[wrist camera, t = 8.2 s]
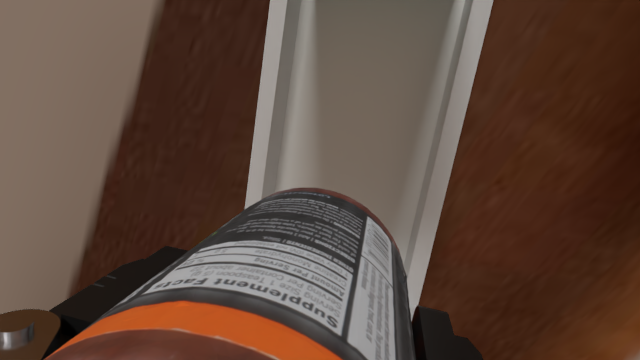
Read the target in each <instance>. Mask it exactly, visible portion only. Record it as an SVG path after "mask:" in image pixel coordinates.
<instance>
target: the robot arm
mask: <svg viewBox="0 0 640 360" xmlns="http://www.w3.org/2000/svg"><path fill="white" fill-rule="evenodd" d="M186 252H188V251H187V250H183V249H178V248H174V247H170V246H165V247H163V248H162V249H160V250H159V251H157V252H155V253H154V254H152V255H151V256H149V257H148V258H146V259H140V260H137V261H134V262H131V263H128V264H124V265H122V266H120V267H119V268H117V269H115V270H114V271H112V272H111V273H109V274H107V277H105V276H104V277H102V278H101V279H99V280H98V281H96V282H95V283H94V285H90V286H88V287H86V288H85V289H83V290H81V291H80V292H78V293H77V294H75V295H73V296H72V297H70V298H69V299H67V300H65V301H64V302H62V303H61V304H59V305H57V306H56V307H54V308H52V309H51V310H49V311H46V310H40V309H23V310H16V311H11V312H7V313H3V314H0V360H44V359H46V358H47V357H48V356H50V355H51V354H52V353H54V352H55V351H56V350H58V349H59V348H60V347H62V346H63V345H64V344H66V343H67V342H68V341H70V340H71V339H72V338H74V337H75V336H77V335H78V334H79V333H81V332H82V331H83V330H84V329H86V328H87V327H88V326H90V325H91V324H92V323H93V322H95V321H96V320H97V319H98V318H100V317H101V316H102V315H104V314H105V313H106V312H108V311H109V310H110V309H112V308H113V307H114V306H116V305H117V304H118V303H120V302H121V301H122V300H124V299H125V298H126V297H128V296H129V295H130V294H132V293H133V292H134V291H136V290H137V289H138V288H140V287H141V286H142V285H144V284H145V283H146V282H148V281H149V280H150V279H152V278H153V277H154V276H156V275H157V274H158V273H160V272H161V271H163V270H164V269H165V268H167V267H168V266H169V265H171V264H172V263H173V262H175V261H176V260H177V259H178V258H180V257H181V256H183V255H184V254H185V253H186ZM412 332H413V339H414V347H415V354H416V360H483V358H482V355H481V354H480V352H479V351H478V350H477V349H476V348H475V347H474V345H473V344H472V343H471V342H470V341H469V340H468V339H467V338H464V337H460V336H456V335H454V333H453V329H452V326H451V322H450V319H449V315H448V313H447V312H443V311H439V310H435V309H431V308H426V307H422V306H418V305H417V306H416V308H415V311H414V314H413V318H412Z"/></svg>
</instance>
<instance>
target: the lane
mask: <svg viewBox="0 0 640 360" xmlns="http://www.w3.org/2000/svg"><path fill="white" fill-rule="evenodd" d="M492 4H493V0H270V7H269V15H268V23H267V31H266V39H265V48H264V56H263V64H262V72H261V80H260V88H259V97H258V105H257V113H256V121H255V129H254V138H253V146H252V154H251V162H250V170H249V178H248V187H247V195H246V203H245V209H246V208H248V207H249V206H251V205H253V204H255V203H256V202H258V201H260V200H261V199H263V198H265V197H267V196H269V195H271V194H273V193H276V192H278V191H283V190H287V189H292V188H321V189H326V190H331V191H335V192H337V193H341V194H343V195H346V196H348V197H350V198H352V199H354V200H356V201H357V202H359V203H361V204H362V205H364V206H365V207H366V208H368V209H369V210H370V211H371V212H372V213H373V214H374V215H375V216H377V217H378V218H379V219H380V221H381V222H382V223H383V224H384V226H385V227H386V228H387V229H388V231H389V232H390V234H391V235H392V237H393V238H394V241H395V243H396V245H397V247H398V248H399V251H400V254H401V258H402V261H403V266H404V270H405V272H406V276H407V287H408V297H409V307H410V313H411V321H412V318H413V314H414V311H415V308H416V306H417V305H418V303H419V299H420V295H421V291H422V287H423V283H424V279H425V275H426V271H427V267H428V263H429V259H430V255H431V251H432V247H433V243H434V239H435V234H436V230H437V226H438V222H439V218H440V214H441V210H442V206H443V202H444V198H445V194H446V190H447V186H448V182H449V178H450V174H451V170H452V166H453V162H454V158H455V154H456V150H457V146H458V141H459V137H460V133H461V129H462V125H463V121H464V117H465V113H466V109H467V105H468V101H469V97H470V93H471V89H472V85H473V81H474V77H475V73H476V69H477V65H478V61H479V57H480V53H481V49H482V44H483V40H484V36H485V32H486V28H487V24H488V20H489V16H490V12H491V8H492Z"/></svg>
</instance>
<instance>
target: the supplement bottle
mask: <svg viewBox="0 0 640 360" xmlns="http://www.w3.org/2000/svg"><path fill="white" fill-rule="evenodd" d="M44 360H416V354H415V347H414V339H413V332H412V321H411V313H410V307H409V297H408V287H407V276H406V272H405V270H404V266H403V261H402V258H401V254H400V251H399V248H398V247H397V245H396V243H395V241H394V238H393V237H392V235H391V234H390V232H389V231H388V229H387V228H386V227H385V226H384V224H383V223H382V222H381V221H380V219H379V218H378V217H377V216H375V215H374V214H373V213H372V212H371V211H370V210H369V209H368V208H366V207H365V206H364V205H362V204H361V203H359V202H357V201H356V200H354V199H352V198H350V197H348V196H346V195H343V194H341V193H337V192H335V191H331V190H326V189H321V188H292V189H287V190H283V191H278V192H276V193H273V194H271V195H269V196H267V197H265V198H263V199H261V200H260V201H258V202H256V203H255V204H253V205H251V206H249V207H248V208H246V209H245V210H243V211H242V212H241V213H240V214H238V215H237V216H236V217H234V218H233V219H232V220H230V221H229V222H227V223H226V224H224V225H223V226H222V227H221V228H219V229H218V230H217V231H215V232H214V233H212V234H211V235H210V236H208V237H207V238H206V239H205V240H203V241H202V242H200V243H199V244H198V245H196V246H195V247H194V248H192V249H191V250H189V251H188V252H186V253H185V254H184V255H183V256H181V257H180V258H178V259H177V260H176V261H175V262H173V263H172V264H171V265H169V266H168V267H167V268H165V269H164V270H163V271H161V272H160V273H158V274H157V275H156V276H154V277H153V278H152V279H150V280H149V281H148V282H146V283H145V284H144V285H142V286H141V287H140V288H138V289H137V290H136V291H134V292H133V293H132V294H130V295H129V296H128V297H126V298H125V299H124V300H122V301H121V302H120V303H118V304H117V305H116V306H114V307H113V308H112V309H110V310H109V311H108V312H106V313H105V314H104V315H102V316H101V317H100V318H98V319H97V320H96V321H95V322H93V323H92V324H91V325H90V326H88V327H87V328H86V329H84V330H83V331H82V332H81V333H79V334H78V335H77V336H75V337H74V338H72V339H71V340H70V341H68V342H67V343H66V344H64V345H63V346H62V347H60V348H59V349H58V350H56V351H55V352H54V353H52V354H51V355H50V356H48V357H47V358H46V359H44Z"/></svg>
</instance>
